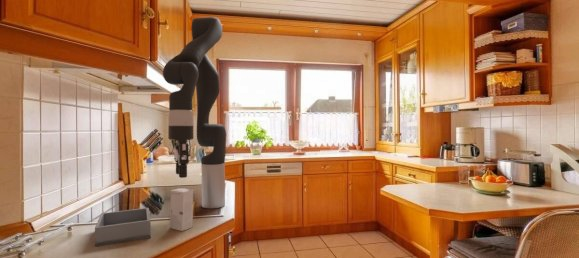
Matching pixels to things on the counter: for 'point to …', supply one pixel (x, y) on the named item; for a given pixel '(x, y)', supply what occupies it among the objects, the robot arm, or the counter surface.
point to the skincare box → (181, 209)
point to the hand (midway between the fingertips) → (181, 175)
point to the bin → (122, 226)
